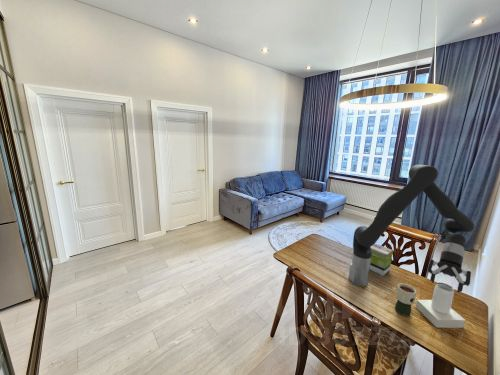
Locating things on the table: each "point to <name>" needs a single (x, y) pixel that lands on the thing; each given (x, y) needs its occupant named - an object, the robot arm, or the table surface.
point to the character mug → (405, 299)
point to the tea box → (380, 259)
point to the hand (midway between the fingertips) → (445, 287)
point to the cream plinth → (440, 316)
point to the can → (442, 298)
